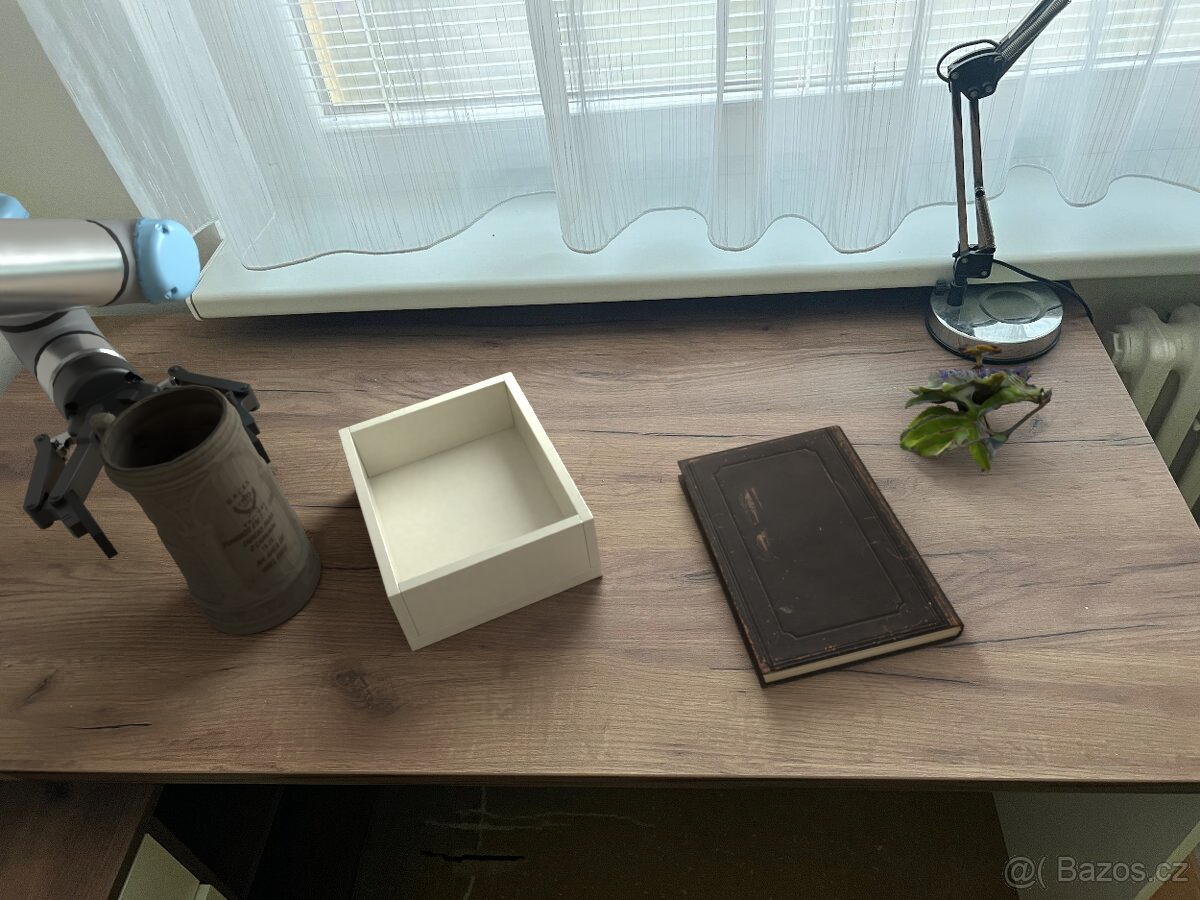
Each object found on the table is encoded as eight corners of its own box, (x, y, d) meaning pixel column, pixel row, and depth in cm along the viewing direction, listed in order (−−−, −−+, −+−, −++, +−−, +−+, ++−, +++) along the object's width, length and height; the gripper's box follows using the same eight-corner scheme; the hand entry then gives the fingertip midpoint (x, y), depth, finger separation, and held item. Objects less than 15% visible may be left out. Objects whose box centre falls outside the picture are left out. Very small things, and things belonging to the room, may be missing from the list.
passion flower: (952, 454, 88) (1036, 358, 83) (1001, 520, 79) (1098, 417, 73) (864, 412, 85) (945, 309, 79) (905, 476, 75) (999, 365, 70)
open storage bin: (412, 652, 71) (387, 597, 66) (361, 485, 86) (337, 430, 80) (603, 575, 75) (594, 517, 70) (523, 427, 89) (510, 371, 84)
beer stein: (350, 548, 80) (256, 379, 66) (291, 647, 73) (171, 480, 59) (214, 531, 85) (100, 370, 71) (145, 622, 77) (4, 463, 64)
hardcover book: (761, 689, 66) (762, 672, 64) (678, 477, 82) (677, 460, 81) (961, 639, 67) (967, 621, 65) (839, 440, 83) (842, 423, 82)
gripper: (230, 355, 91) (332, 449, 79) (-17, 485, 81) (58, 617, 68) (200, 295, 86) (304, 386, 74) (-69, 426, 75) (3, 558, 63)
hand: (186, 497), depth 71 cm, fingers open, 13 cm apart
